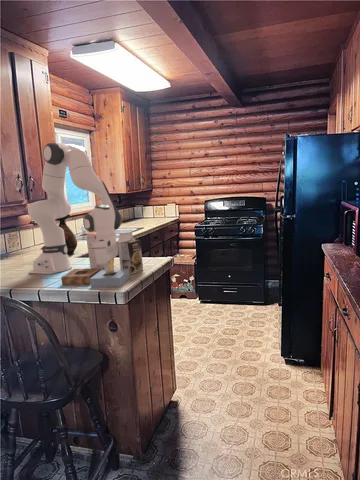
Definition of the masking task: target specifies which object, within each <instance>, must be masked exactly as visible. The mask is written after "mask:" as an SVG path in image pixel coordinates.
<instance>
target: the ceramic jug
mask: <svg viewBox="0 0 360 480" xmlns="http://www.w3.org/2000/svg"><path fill="white" fill-rule="evenodd" d="M70 217H72V215H70V213H69V214H68V215H67V216H65V217H63V218H59V219H56V221H59V223H58V226H59V227H61V228H62V229H63V230H64V236H65V243H66V245H67V255H68V256H72V255H75V251H76V249H77V246H78V240H77V238H76V235H75V233H74V231H72V229H71V228H70V226H68V225H67V223H66V220H68V219H70Z"/></svg>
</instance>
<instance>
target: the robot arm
mask: <svg viewBox="0 0 360 480" xmlns="http://www.w3.org/2000/svg"><path fill="white" fill-rule="evenodd" d="M42 152H43V158H44V160H45V162H44V166H43V170H42V171H43V172H42V179H41V180H42V181H41V187H42V190H43V191H44V192H46V195H47V199H43V200H37V201H34V202H31V203H30V204H29V205H28V208H27V215H28V216H29V219H31V220H32V221H33V222H35V223H36V224H37V225H38V227H39V229H40V231H41V234H42V238H43V246H41V247H40V248H39V249H40V251H41V253H40V254H39V255H38V256H37V257H36V258H35V259H34V261H33V263H32V268H31V269H30V270H29V271H28V272H29V274H42V275H44V274H45V275H52V274H55V273H60V272H65V271H68V270H70V269H72V265H71V263H70V260H69V255H67V245H66V243H65V236H64V230H63V229H62V228H61V227H59V224H58V223H57V219H59V218H63V217H65V216H67V215H68V214H69V215H70V213H71V211H72V206H71V203H70V202H69V201H68V200H67V198H66V196H65V181H66V171H67V168H68V172H69V175H70V179H71V181H72V183H73V185H74V186H75V187H77V188H78V189H81V190H83V191H87V192H90V193H93V194H94V195H96V196H98V198H99V199H100V201H101V204H97V205H95V206H94V207H93V210H92V211H90V212H88V213H86V214H85V215H84V217H83V219H82V221H83V228H84V229H85V230H86V231H87V232H89V233H92V232H96V240H95V242H94V243H93V248H95V258H96V263H97V264H98V265H104V268H105V271H106V272H107V271H109V270H110V267H109V265H108V264H109V263H108V262H109V261H110V260H111V259H112V258H111V257H113V265H114V263H115V258H116V257H118V256H119V249H118V241H117V236H116V231H117V230H118V229H119V228H120V227H121V225H122V223H123V217H122V214H121V213H120V211H119V210H118V208H117V206H116V204H115V201H114V200H113V199H112V198H113V197H112V195H111V193H110V191H109V190H108V188H107V185H106V183H105V182H104V181H103V180H102V179H100V178H99V177H98V175H97V174H96V173H95V171H94V168H93V165H92V162H91V160H90V158H89V156H88V152H87V150H86V148H85V147H83V146H82V145H79V144H77V145H76V144H72V143H64V142H63V143H59V142H57V143H56V142H49V143H46V144H45V145H44V148H43V151H42Z"/></svg>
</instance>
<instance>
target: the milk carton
mask: <svg viewBox="0 0 360 480" xmlns="http://www.w3.org/2000/svg"><path fill="white" fill-rule="evenodd" d="M118 234H119V236H118V240H117V245H118V252H119V253H118V258H119V266H120V267H119V268H120V270H123V267H122V256H121V245H120V243H121V242H125V241H128V240H136V239H135V237H134V235H133V232H119V233H118Z"/></svg>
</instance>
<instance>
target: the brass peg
mask: <svg viewBox="0 0 360 480" xmlns="http://www.w3.org/2000/svg"><path fill="white" fill-rule="evenodd" d="M111 258H112V259H111V260H110V261H109V262H108V263H109V264H108V265H109V267H110V270H109V271H107V272H106V271H105V272H106V276H111V275H115V274H114V270H115V267H114V265H113V257H111Z"/></svg>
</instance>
